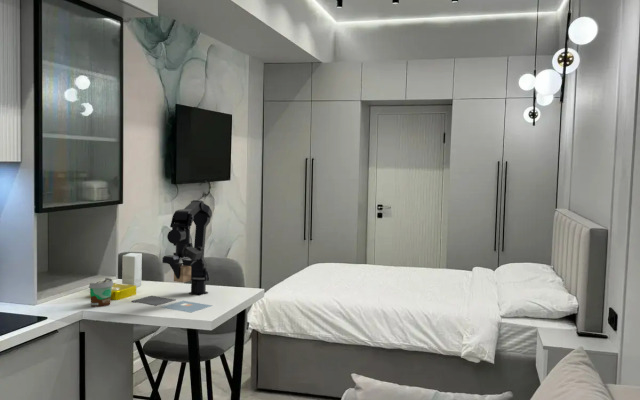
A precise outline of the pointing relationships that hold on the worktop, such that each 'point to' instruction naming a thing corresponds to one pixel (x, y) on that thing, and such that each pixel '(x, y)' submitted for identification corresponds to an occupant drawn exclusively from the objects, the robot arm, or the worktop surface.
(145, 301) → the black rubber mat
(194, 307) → the card
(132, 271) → the skincare box
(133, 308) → the worktop surface
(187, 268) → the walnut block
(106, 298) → the food container
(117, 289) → the element tile
